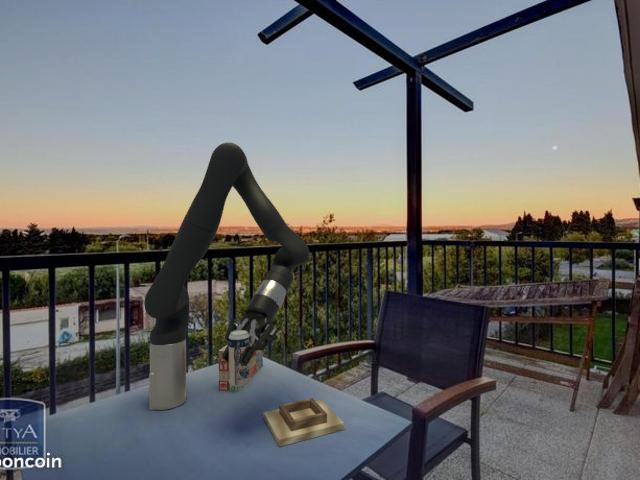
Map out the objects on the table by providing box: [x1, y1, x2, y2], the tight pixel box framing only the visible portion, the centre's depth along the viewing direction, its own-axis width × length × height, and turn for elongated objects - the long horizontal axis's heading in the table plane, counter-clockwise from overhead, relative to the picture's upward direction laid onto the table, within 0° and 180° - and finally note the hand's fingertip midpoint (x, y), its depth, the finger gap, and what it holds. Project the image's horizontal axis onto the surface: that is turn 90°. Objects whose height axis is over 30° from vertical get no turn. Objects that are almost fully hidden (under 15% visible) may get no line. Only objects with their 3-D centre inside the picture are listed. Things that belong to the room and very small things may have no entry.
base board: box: [263, 397, 345, 447], centre depth 82 cm, size 16×13×4 cm
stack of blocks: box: [218, 344, 264, 393], centre depth 110 cm, size 21×6×12 cm, turn 170°
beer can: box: [229, 330, 251, 387], centre depth 79 cm, size 5×5×12 cm
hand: (233, 361), depth 77 cm, fingers closed on beer can, 4 cm apart
